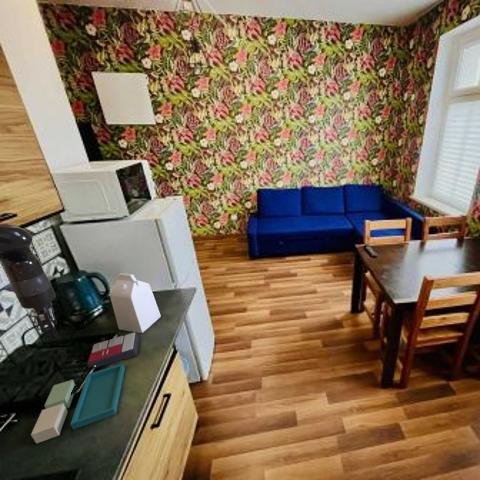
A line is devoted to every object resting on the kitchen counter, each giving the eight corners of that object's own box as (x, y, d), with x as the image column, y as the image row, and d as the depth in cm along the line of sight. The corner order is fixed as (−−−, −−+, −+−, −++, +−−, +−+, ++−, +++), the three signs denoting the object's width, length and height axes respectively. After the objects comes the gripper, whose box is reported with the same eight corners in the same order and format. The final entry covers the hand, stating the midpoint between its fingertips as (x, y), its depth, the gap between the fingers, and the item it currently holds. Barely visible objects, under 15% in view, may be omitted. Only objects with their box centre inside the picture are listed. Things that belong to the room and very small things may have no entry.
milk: (160, 316, 128) (148, 269, 118) (142, 333, 118) (126, 282, 108) (139, 313, 130) (124, 266, 120) (118, 329, 120) (101, 279, 110)
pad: (36, 443, 76) (30, 434, 75) (47, 418, 83) (42, 410, 81) (59, 435, 78) (53, 426, 77) (67, 411, 85) (63, 403, 83)
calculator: (92, 343, 107) (136, 330, 113) (96, 351, 109) (139, 337, 115) (85, 363, 98) (133, 347, 104) (90, 371, 100) (136, 355, 106)
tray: (73, 429, 80) (70, 424, 79) (89, 379, 96) (87, 374, 95) (115, 414, 84) (113, 408, 83) (125, 368, 100) (123, 363, 100)
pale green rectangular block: (49, 414, 84) (44, 405, 83) (58, 393, 91) (53, 385, 89) (69, 407, 86) (64, 399, 85) (76, 387, 93) (72, 379, 91)
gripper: (16, 283, 82) (37, 326, 88) (13, 304, 72) (36, 350, 78) (50, 275, 86) (67, 316, 93) (51, 293, 77) (70, 337, 83)
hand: (53, 331), depth 85 cm, fingers open, 8 cm apart
